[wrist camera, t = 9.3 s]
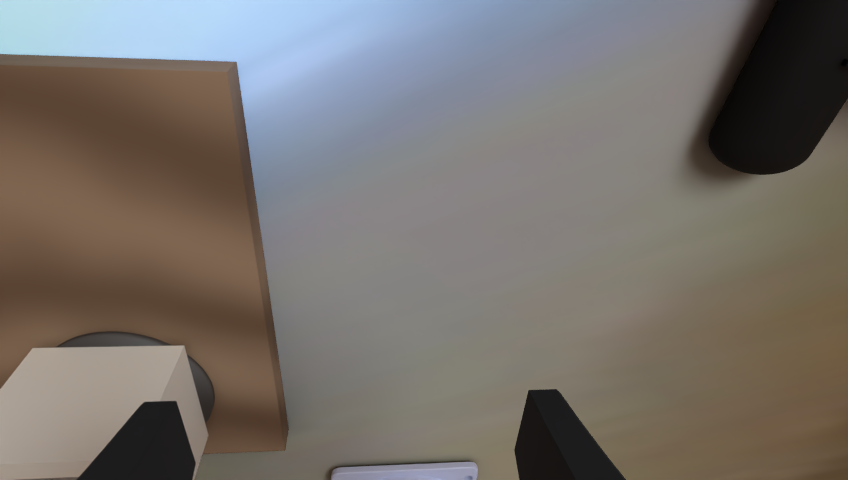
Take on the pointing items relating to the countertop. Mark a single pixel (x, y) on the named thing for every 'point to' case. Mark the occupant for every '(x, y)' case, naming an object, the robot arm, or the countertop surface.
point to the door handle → (786, 89)
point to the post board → (138, 228)
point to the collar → (87, 405)
